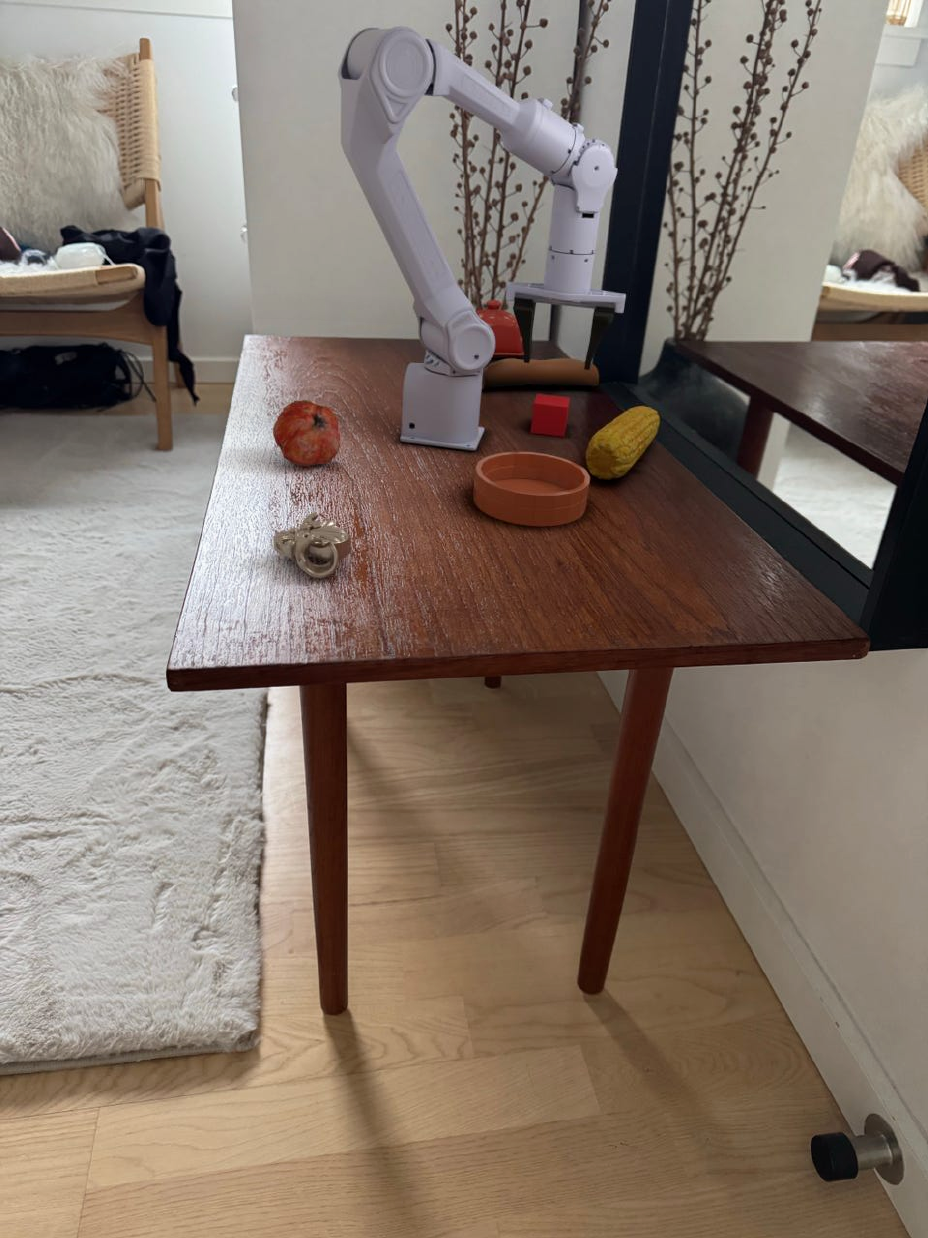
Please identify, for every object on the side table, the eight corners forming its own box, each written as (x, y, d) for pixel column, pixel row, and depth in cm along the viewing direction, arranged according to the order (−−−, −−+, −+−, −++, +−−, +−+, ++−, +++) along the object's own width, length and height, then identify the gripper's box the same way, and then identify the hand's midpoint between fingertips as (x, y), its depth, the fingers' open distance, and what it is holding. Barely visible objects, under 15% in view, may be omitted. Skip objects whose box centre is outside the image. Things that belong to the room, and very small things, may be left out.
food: (623, 492, 101) (632, 442, 98) (576, 481, 103) (583, 432, 99) (662, 438, 118) (671, 394, 115) (621, 430, 119) (628, 386, 116)
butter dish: (463, 361, 144) (467, 306, 139) (450, 342, 153) (453, 291, 149) (531, 362, 146) (537, 309, 142) (514, 344, 156) (519, 293, 151)
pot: (464, 517, 92) (467, 485, 90) (482, 474, 102) (484, 445, 100) (582, 533, 91) (587, 501, 89) (587, 488, 101) (592, 459, 99)
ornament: (278, 540, 84) (277, 504, 82) (351, 542, 85) (351, 507, 83) (269, 580, 78) (267, 543, 76) (348, 582, 78) (348, 545, 76)
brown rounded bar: (578, 372, 141) (592, 341, 135) (589, 407, 138) (603, 376, 132) (469, 372, 136) (478, 340, 130) (477, 408, 133) (487, 376, 127)
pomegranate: (266, 477, 103) (284, 451, 94) (263, 416, 103) (280, 384, 94) (329, 479, 106) (352, 454, 97) (325, 419, 106) (348, 389, 97)
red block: (530, 432, 116) (533, 402, 114) (533, 422, 120) (537, 393, 118) (563, 437, 116) (567, 407, 114) (566, 426, 119) (570, 397, 117)
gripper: (632, 251, 109) (614, 362, 116) (515, 239, 110) (504, 350, 117) (631, 260, 103) (613, 377, 110) (508, 248, 104) (497, 363, 111)
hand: (557, 364), depth 113 cm, fingers open, 7 cm apart
